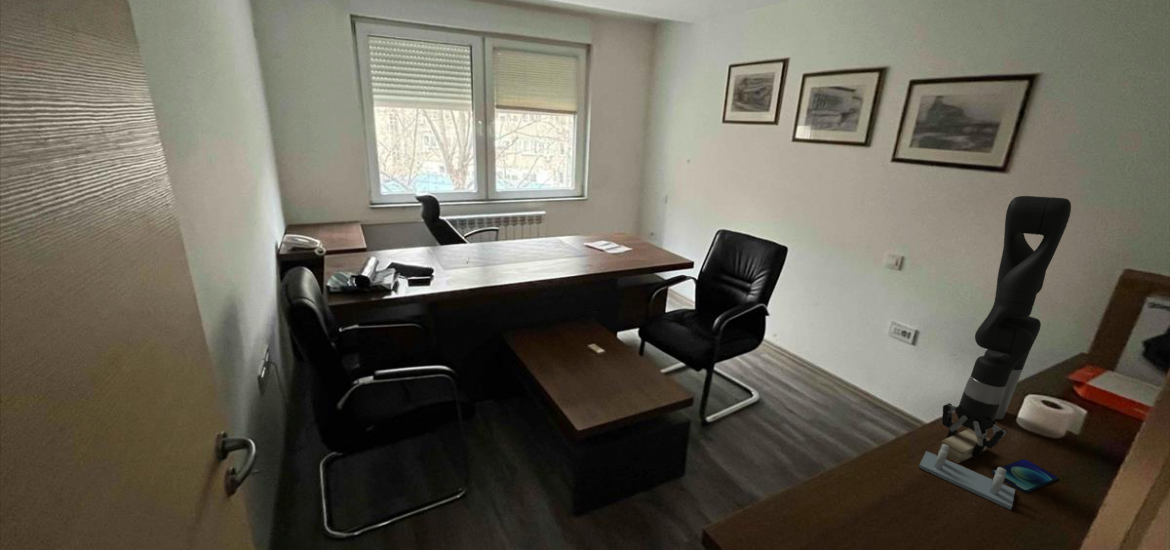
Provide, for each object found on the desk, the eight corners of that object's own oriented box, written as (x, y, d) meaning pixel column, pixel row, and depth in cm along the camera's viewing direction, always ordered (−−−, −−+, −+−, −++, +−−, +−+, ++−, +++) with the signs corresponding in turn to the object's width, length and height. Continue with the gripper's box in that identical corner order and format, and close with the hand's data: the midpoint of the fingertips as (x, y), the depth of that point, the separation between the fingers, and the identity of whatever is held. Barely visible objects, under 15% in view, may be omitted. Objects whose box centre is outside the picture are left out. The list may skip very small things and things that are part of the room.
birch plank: (965, 438, 130) (969, 428, 129) (986, 449, 125) (990, 439, 124) (937, 451, 124) (941, 440, 123) (958, 463, 119) (962, 452, 118)
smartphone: (1060, 477, 115) (1026, 491, 110) (1058, 480, 116) (1025, 494, 110) (1023, 458, 122) (990, 470, 117) (1022, 461, 122) (989, 473, 117)
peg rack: (918, 467, 117) (924, 448, 115) (925, 454, 122) (931, 435, 120) (1010, 510, 105) (1019, 489, 103) (1013, 492, 110) (1022, 472, 108)
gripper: (944, 384, 123) (926, 437, 128) (1010, 413, 111) (988, 469, 117) (957, 378, 127) (940, 430, 132) (1023, 406, 115) (1001, 461, 120)
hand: (962, 448), depth 124 cm, fingers closed on birch plank, 5 cm apart
